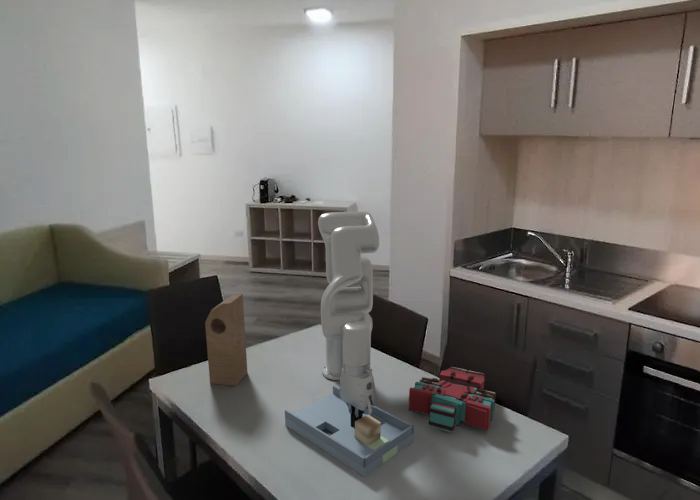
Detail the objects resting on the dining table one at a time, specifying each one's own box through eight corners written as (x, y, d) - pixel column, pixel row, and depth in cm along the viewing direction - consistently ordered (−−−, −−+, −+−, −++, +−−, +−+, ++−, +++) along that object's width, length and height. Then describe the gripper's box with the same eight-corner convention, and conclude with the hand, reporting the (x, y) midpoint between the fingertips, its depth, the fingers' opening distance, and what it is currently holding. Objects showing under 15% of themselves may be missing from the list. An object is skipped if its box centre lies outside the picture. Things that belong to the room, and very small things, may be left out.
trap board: (334, 399, 160) (334, 385, 158) (413, 441, 138) (413, 425, 137) (285, 425, 146) (284, 410, 145) (364, 476, 124) (364, 459, 123)
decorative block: (236, 386, 168) (230, 303, 161) (209, 383, 170) (203, 301, 163) (247, 372, 178) (243, 293, 171) (222, 370, 180) (216, 292, 173)
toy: (431, 383, 172) (400, 424, 146) (433, 358, 170) (401, 395, 144) (503, 400, 161) (483, 447, 135) (505, 373, 159) (485, 416, 133)
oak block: (367, 429, 139) (368, 414, 137) (380, 438, 135) (381, 422, 134) (354, 437, 135) (355, 421, 134) (367, 446, 132) (368, 430, 131)
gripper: (386, 371, 131) (385, 431, 136) (347, 353, 141) (347, 409, 146) (366, 381, 126) (366, 443, 131) (327, 361, 136) (328, 420, 141)
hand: (356, 425), depth 138 cm, fingers closed
